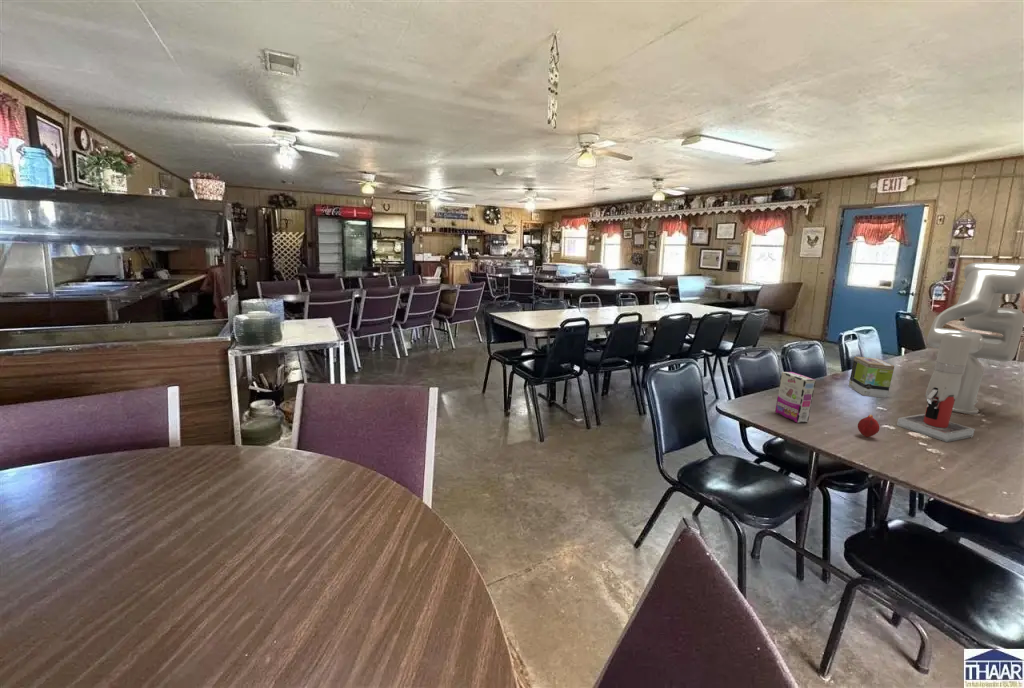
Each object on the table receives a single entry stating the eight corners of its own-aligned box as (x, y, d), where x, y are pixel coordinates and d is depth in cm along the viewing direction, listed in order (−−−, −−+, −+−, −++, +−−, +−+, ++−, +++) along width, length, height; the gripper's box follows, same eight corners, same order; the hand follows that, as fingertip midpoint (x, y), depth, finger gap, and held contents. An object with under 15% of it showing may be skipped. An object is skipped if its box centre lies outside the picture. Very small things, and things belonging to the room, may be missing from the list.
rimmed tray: (922, 421, 173) (924, 413, 172) (972, 437, 159) (974, 429, 158) (896, 425, 167) (898, 417, 167) (946, 442, 154) (948, 433, 153)
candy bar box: (809, 422, 167) (817, 379, 163) (797, 423, 166) (805, 380, 162) (785, 411, 178) (792, 371, 174) (774, 412, 177) (781, 371, 173)
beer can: (949, 430, 158) (957, 397, 156) (923, 425, 162) (931, 393, 160) (946, 424, 163) (954, 392, 161) (922, 420, 167) (929, 388, 165)
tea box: (888, 398, 199) (895, 365, 196) (861, 395, 201) (868, 363, 198) (872, 388, 213) (879, 357, 210) (847, 386, 216) (853, 355, 212)
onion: (877, 442, 152) (883, 419, 150) (856, 437, 155) (861, 415, 153) (875, 436, 157) (880, 414, 155) (854, 432, 160) (859, 410, 158)
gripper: (951, 364, 165) (939, 411, 169) (921, 367, 159) (909, 415, 163) (977, 369, 158) (965, 418, 162) (947, 373, 152) (934, 423, 156)
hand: (937, 416), depth 162 cm, fingers closed on beer can, 6 cm apart
